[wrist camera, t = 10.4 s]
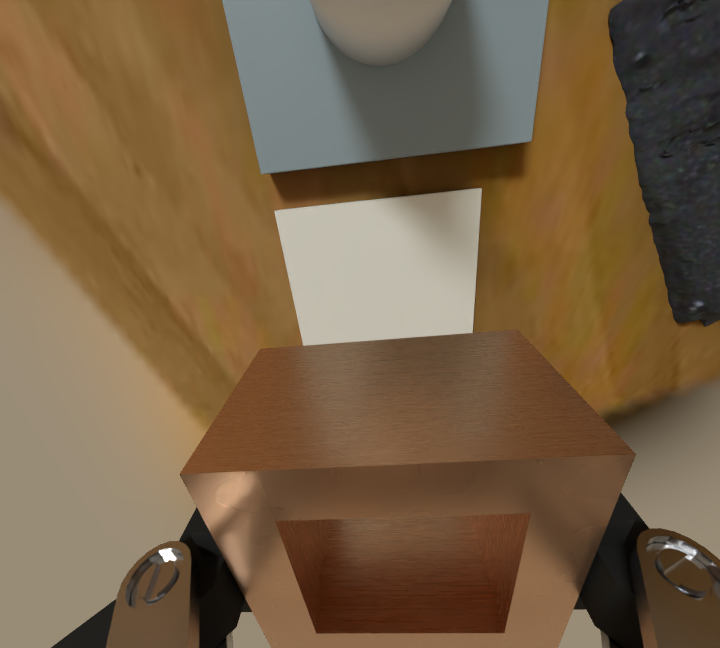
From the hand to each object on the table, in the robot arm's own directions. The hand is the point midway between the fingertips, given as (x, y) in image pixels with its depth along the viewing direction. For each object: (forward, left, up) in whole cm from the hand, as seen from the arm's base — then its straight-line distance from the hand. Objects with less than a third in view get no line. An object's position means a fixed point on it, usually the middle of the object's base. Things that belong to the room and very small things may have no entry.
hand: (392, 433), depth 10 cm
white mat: (0, 0, -12) cm, 12 cm away
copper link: (0, 0, 0) cm, 0 cm away
